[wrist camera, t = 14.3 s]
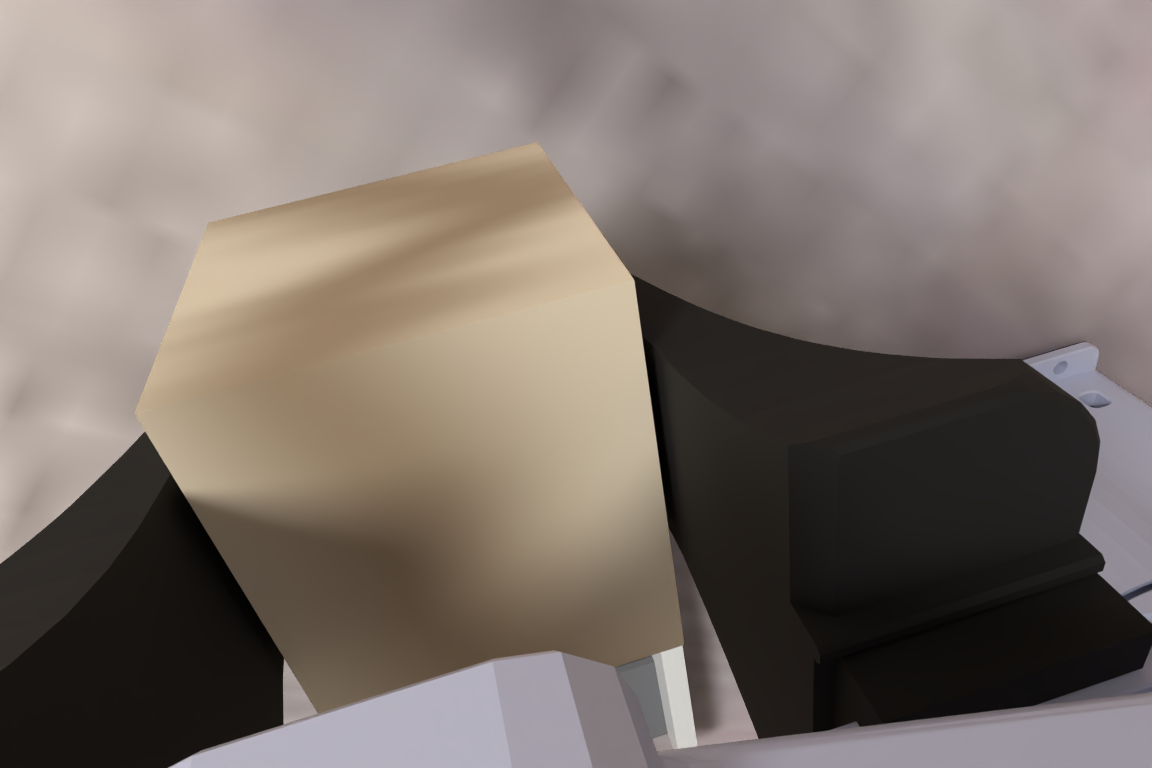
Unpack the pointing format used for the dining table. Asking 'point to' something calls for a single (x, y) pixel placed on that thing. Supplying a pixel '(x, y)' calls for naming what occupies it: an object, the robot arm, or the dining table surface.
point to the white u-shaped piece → (663, 695)
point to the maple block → (422, 428)
